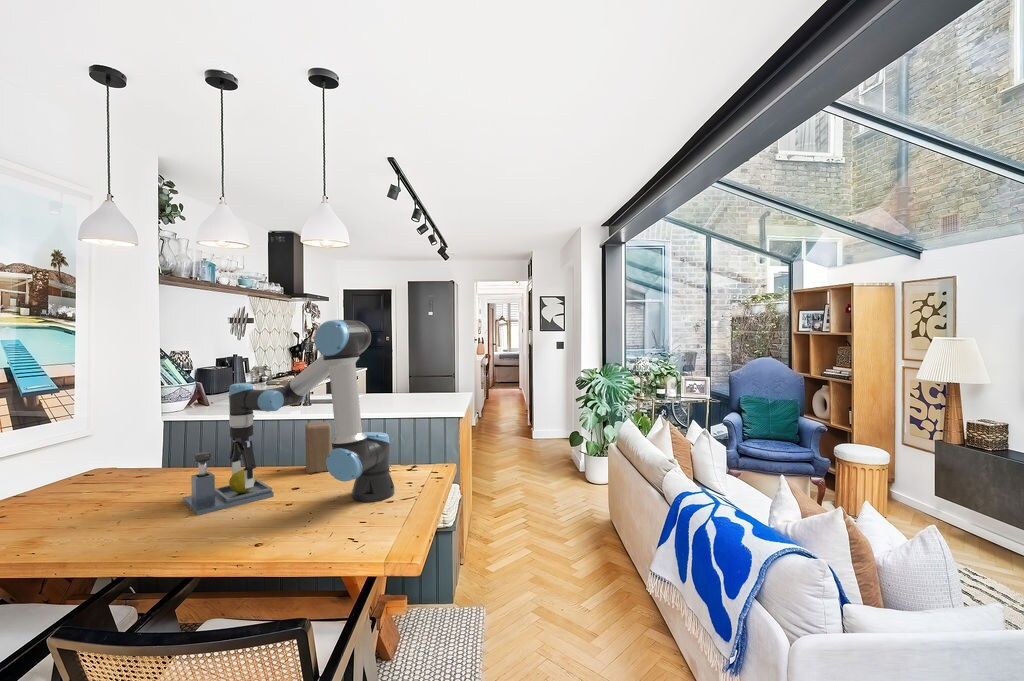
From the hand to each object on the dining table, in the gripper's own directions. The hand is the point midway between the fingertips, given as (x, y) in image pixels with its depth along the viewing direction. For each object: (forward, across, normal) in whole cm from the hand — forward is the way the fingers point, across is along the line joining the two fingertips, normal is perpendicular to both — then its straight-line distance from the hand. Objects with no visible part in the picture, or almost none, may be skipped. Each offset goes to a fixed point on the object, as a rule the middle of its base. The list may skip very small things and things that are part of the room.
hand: (242, 483), depth 174 cm
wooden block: (+5, +11, -34) cm, 36 cm away
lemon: (+3, 0, 0) cm, 3 cm away
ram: (-3, 0, +13) cm, 13 cm away
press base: (+5, 0, +4) cm, 7 cm away
